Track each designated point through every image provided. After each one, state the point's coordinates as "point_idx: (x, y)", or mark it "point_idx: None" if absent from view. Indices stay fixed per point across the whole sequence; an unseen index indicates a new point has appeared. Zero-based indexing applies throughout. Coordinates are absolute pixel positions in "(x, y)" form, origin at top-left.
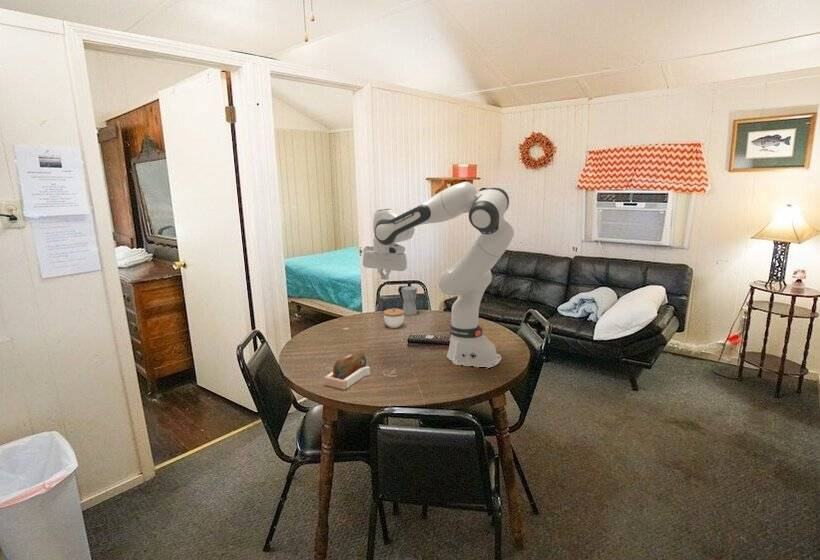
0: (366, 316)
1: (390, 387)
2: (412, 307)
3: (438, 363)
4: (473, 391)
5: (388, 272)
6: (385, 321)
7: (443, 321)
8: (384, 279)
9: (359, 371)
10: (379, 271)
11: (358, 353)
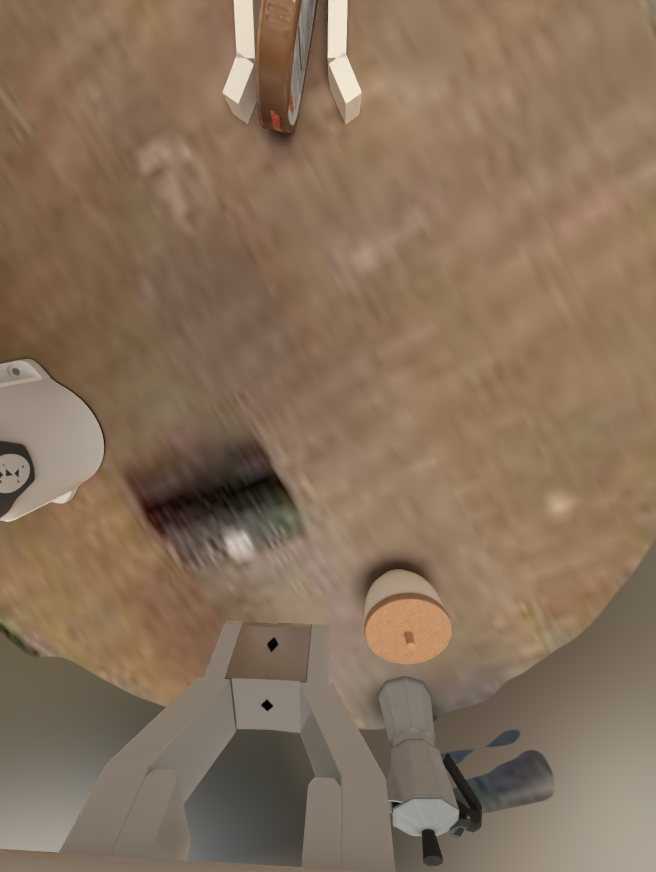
0: (536, 629)
1: (93, 35)
2: (391, 715)
3: (84, 347)
4: None
5: (117, 764)
6: (424, 580)
7: None
8: (269, 623)
9: (236, 15)
10: (348, 774)
11: (258, 22)
